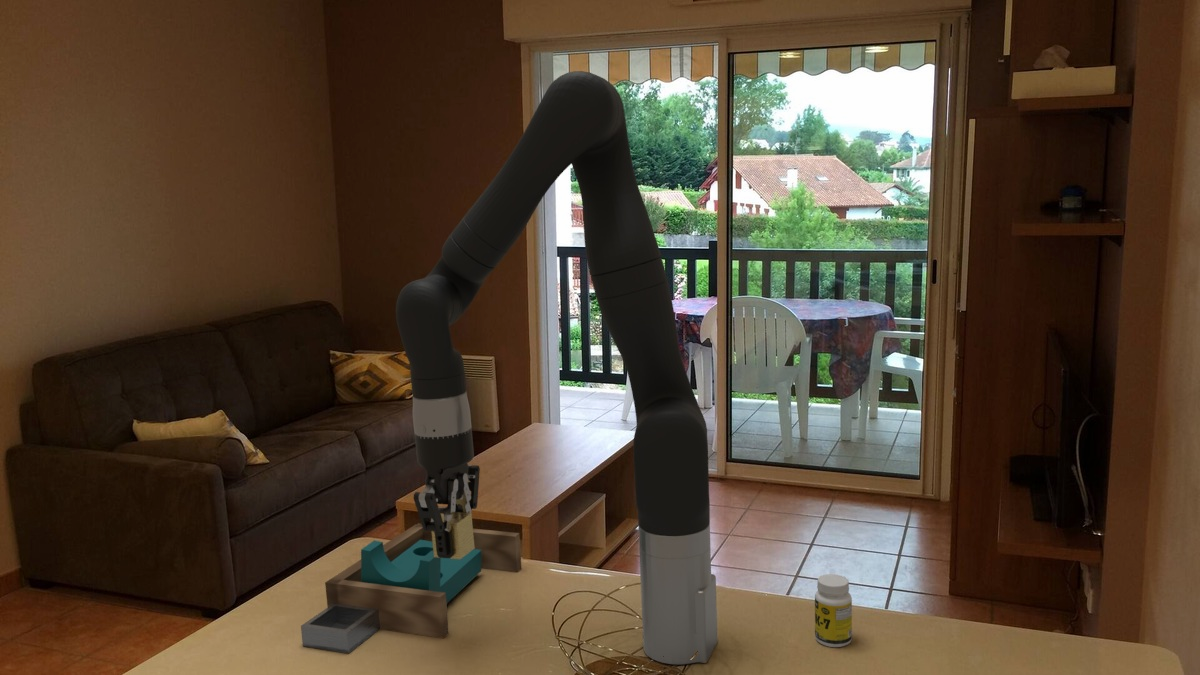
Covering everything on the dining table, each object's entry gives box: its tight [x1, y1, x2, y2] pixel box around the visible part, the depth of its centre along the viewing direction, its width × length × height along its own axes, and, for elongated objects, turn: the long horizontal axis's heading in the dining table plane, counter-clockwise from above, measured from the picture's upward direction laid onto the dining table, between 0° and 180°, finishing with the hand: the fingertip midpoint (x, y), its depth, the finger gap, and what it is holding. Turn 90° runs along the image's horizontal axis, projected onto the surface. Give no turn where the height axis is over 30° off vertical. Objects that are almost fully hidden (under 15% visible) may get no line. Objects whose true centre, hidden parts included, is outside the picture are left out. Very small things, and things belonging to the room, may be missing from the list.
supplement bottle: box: [814, 573, 853, 648], centre depth 127 cm, size 5×5×8 cm
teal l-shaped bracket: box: [360, 540, 482, 604], centre depth 146 cm, size 18×11×10 cm, turn 163°
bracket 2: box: [324, 522, 522, 639], centre depth 147 cm, size 19×25×6 cm
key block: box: [432, 512, 475, 559], centre depth 130 cm, size 4×4×5 cm
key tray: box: [300, 603, 381, 654], centre depth 134 cm, size 8×8×3 cm
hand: (454, 549), depth 130 cm, fingers closed on key block, 4 cm apart
